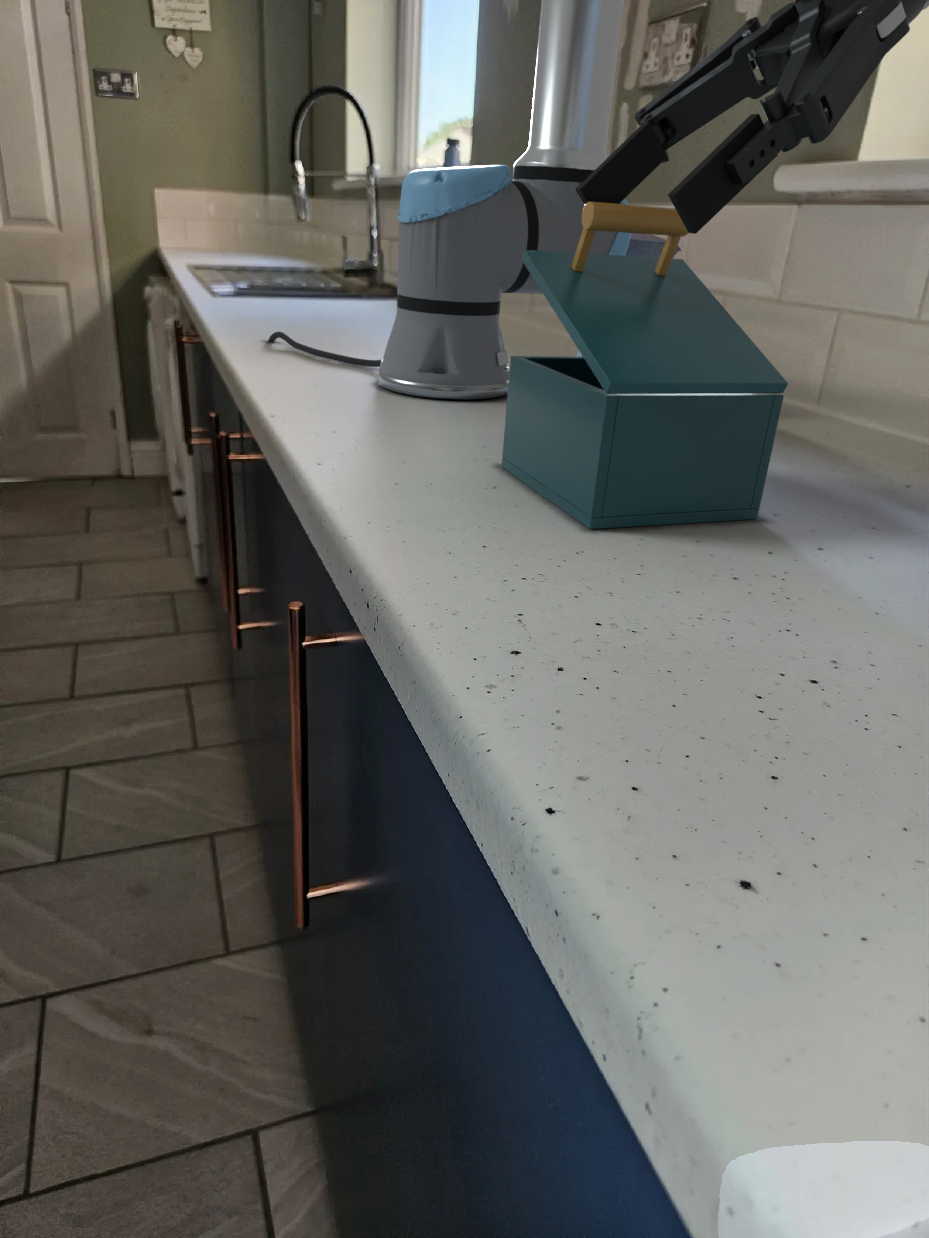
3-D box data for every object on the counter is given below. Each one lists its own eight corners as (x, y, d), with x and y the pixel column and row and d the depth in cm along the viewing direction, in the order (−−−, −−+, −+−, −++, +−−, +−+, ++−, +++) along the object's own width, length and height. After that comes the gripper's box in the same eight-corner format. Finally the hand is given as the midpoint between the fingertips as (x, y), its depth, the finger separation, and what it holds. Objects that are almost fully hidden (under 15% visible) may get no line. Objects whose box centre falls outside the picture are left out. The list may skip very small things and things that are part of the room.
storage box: (501, 466, 71) (510, 355, 67) (645, 462, 76) (661, 357, 72) (589, 529, 58) (607, 396, 54) (757, 519, 63) (784, 395, 59)
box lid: (521, 260, 64) (541, 182, 60) (678, 268, 69) (707, 197, 65) (606, 394, 54) (637, 312, 50) (783, 393, 59) (824, 319, 55)
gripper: (746, -58, 62) (524, 159, 64) (1041, -159, 43) (711, 158, 44) (786, 41, 67) (577, 243, 68) (1072, -10, 47) (770, 276, 48)
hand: (630, 210), depth 56 cm, fingers open, 11 cm apart
